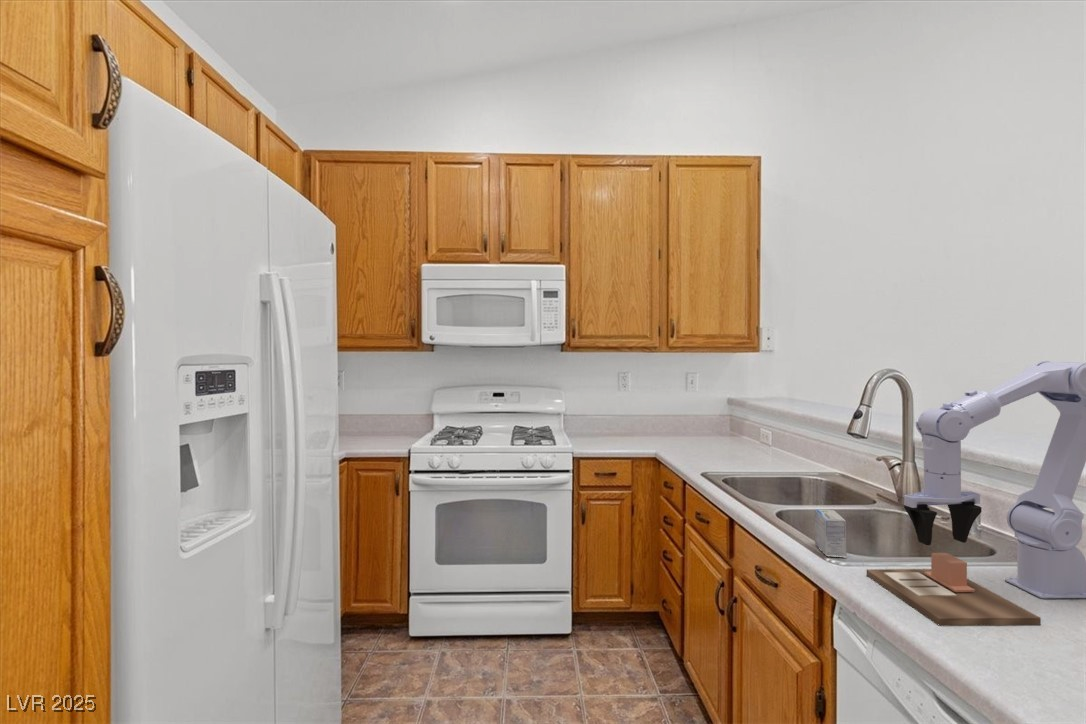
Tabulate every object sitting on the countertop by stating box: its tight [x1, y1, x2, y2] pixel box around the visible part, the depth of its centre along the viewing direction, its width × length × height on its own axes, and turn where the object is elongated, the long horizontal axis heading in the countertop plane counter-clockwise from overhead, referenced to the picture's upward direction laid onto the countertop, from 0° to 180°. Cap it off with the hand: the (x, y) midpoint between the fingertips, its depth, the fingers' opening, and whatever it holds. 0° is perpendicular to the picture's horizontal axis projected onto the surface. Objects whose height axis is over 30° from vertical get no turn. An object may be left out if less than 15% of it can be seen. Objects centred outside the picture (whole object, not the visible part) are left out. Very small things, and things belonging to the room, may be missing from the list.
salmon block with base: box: [924, 552, 975, 592], centre depth 102 cm, size 4×8×5 cm, turn 0°
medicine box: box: [814, 509, 847, 557], centre depth 122 cm, size 8×4×9 cm, turn 168°
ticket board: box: [866, 568, 1042, 626], centre depth 99 cm, size 17×20×2 cm
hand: (942, 542), depth 101 cm, fingers open, 7 cm apart
